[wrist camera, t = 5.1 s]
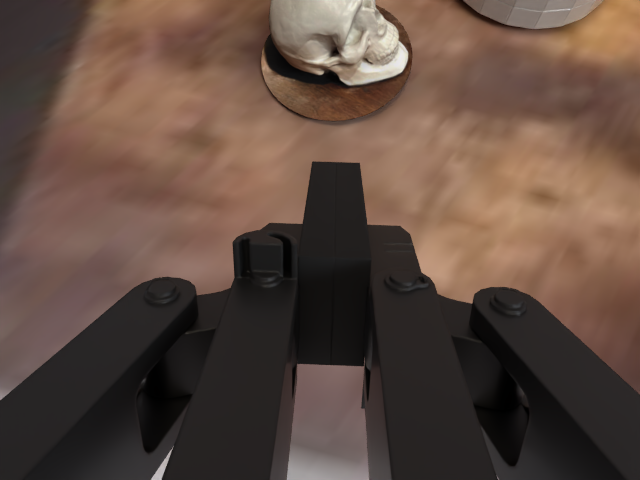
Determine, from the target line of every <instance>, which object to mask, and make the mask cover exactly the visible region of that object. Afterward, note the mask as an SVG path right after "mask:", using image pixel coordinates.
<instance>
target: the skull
mask: <svg viewBox="0 0 640 480" xmlns="http://www.w3.org/2000/svg"><path fill="white" fill-rule="evenodd" d="M269 27H270V35H269V36H268V38H267V40H266V42H265V45H264V47H263V51H262V59H261V65H262V72H263V76H264V79H265V82H266V84H267V86H268V88H269V89H270V91H271V92H272V94H273V95H274V96H275V97H276V98H277V99H278V100H279V101H280V102H281V103H282V104H283V105H285V106H286V107H287V108H289V109H291V110H293V111H294V112H297V113H299V114H301V115H303V116H306V117H309V118H314V119H318V120H328V121H330V120H331V121H333V120H334V121H338V120H347V119H348V120H349V119H354V118H357V117H361V116H365V115H367V114H369V113H371V112H373V111H375V110H377V109H379V108H380V107H383V106H384V105H385V104H386V103H388V102H389V101H390V100H391V99H393V97H395V95H396V94H397V93H398V92H399V91H400V89H401V88H402V87H403V85H404V84H405V82H406V80H407V78H408V75H409V73H410V69H411V65H412V48H411V43H410V40H409V37H408V35H407V32H406V31H405V29H404V28H403V26H402V25H401V23H400V22H399V21H398V20H397V19H396V18H395V17H394V16H393V15H391V14H390V13H389V12H387V11H386V10H385V9H383V8H381V7H379V6H377V5H375V0H271V6H270V13H269Z"/></svg>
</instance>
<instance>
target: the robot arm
mask: <svg viewBox="0 0 640 480" xmlns="http://www.w3.org/2000/svg"><path fill="white" fill-rule="evenodd" d="M233 258H234V275H235V278H234V281H233V283H232V286H231V288H229V289H227V290H224V291H221V292H216V293H211V294H204V295H197V294H196V289H195V286H194V285H193V284H192V283H191V282H189V281H187V280H184V279H181V278H171V277H162V278H161V277H160V278H155V279H152V280H150V281H147V282H144V283H141V284H140V285H138V286H136V287H135V288H133V289H132V290H131V291H130V292H128V293H127V294H126V295H125V296H124V297H122V298H121V299H120V300H119V301H118V302H116V303H115V304H114V305H113V306H112V307H111V308H109V309H108V310H107V311H106V312H105V313H103V314H102V315H101V316H100V317H99V318H98V319H96V320H95V321H94V322H93V323H92V324H90V325H89V326H88V327H87V328H86V329H85V330H83V331H82V332H81V333H80V334H79V335H77V336H76V337H75V338H74V339H73V340H71V341H70V342H69V343H68V344H67V345H66V346H64V347H63V348H62V349H61V350H60V351H58V352H57V353H56V354H55V355H54V356H53V357H51V358H50V359H49V360H48V361H47V362H45V363H44V364H43V365H42V366H41V367H40V368H38V369H37V370H36V371H35V372H34V373H32V374H31V375H30V376H29V377H28V378H26V379H25V380H24V381H23V382H22V383H21V384H19V385H18V386H17V387H16V388H15V389H13V390H12V391H11V392H10V393H9V394H8V395H6V396H5V397H4V398H3V399H2V400H0V480H151V478H152V477H153V475H154V474H155V472H156V471H157V469H158V468H159V467H160V465H161V464H162V462H163V461H164V459H165V458H166V456H167V455H168V453H169V452H170V450H171V449H172V447H173V446H174V447H173V450H172V452H171V455H170V458H169V461H168V463H167V466H166V469H165V472H164V475H163V477H162V480H287V471H288V461H289V451H290V442H291V432H292V422H293V413H294V403H295V393H296V384H297V364H319V365H345V366H364V356H365V367H364V380H363V394H362V407H361V408H365V415H366V432H367V448H368V465H369V480H498V479H497V476H498V478H499V480H640V395H639V394H638V393H637V392H636V391H635V390H634V389H633V388H632V387H631V386H630V385H629V384H627V383H626V382H625V381H624V380H623V379H622V378H621V377H620V376H619V375H618V374H617V373H616V372H614V371H613V370H612V369H611V368H610V367H609V366H608V365H607V364H606V363H605V362H604V361H602V360H601V359H600V358H599V357H598V356H597V355H596V354H595V353H594V352H593V351H592V350H591V349H589V348H588V347H587V346H586V345H585V344H584V343H583V342H582V341H581V340H580V339H579V338H577V337H576V336H575V335H574V334H573V333H572V332H571V331H570V330H569V329H568V328H567V327H566V326H564V325H563V324H562V323H561V322H560V321H559V320H558V319H557V318H556V317H555V316H554V315H553V314H551V313H550V312H549V311H548V310H547V309H546V308H545V307H544V306H543V305H542V304H541V303H539V302H538V301H537V300H536V299H534V298H533V297H531V296H530V295H528V294H525V293H523V292H520V291H518V290H516V289H512V288H510V289H509V288H507V287H490V288H486V289H481V290H480V291H478V292H477V293H475V295H474V299H473V303H472V304H470V303H466V302H461V301H456V300H453V299H449V298H446V297H443V296H441V295H439V294H437V291H436V288H435V285H434V283H433V282H432V280H431V279H430V278H429V277H427V276H426V275H424V274H423V273H421V269H420V266H419V263H418V259H417V256H416V253H415V249H414V246H413V243H412V239H411V236H410V234H409V233H408V232H407V231H405V230H404V229H403V228H402V227H401V226H387V225H367V218H366V210H365V202H364V194H363V186H362V178H361V170H360V163H342V162H312V168H311V174H310V180H309V187H308V193H307V200H306V206H305V213H304V219H303V224H285V223H269V224H268V225H266V226H265V227H264V228H262V229H261V230H256V231H252V232H247V233H244V234H242V235H240V236H238V237H237V238H236V239H235V240H234V241H233ZM496 475H497V476H496Z"/></svg>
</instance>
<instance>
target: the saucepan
mask: <svg viewBox="0 0 640 480" xmlns="http://www.w3.org/2000/svg"><path fill="white" fill-rule="evenodd" d="M463 1H464V2H465V3H467V4H468V5H469V6H470V7H472V8H473V9H474V10H475V11H477V12H478V13H480V14H482V15H484V16H486V17H489V18H491V19H493V20H496V21H498V22H500V23H502V24H505V25H510V26H516V27H522V28H528V29H543V28H555V27H562V26H564V25H567V24H569V23H572V22H575V21H577V20H580V19H582V18H584V17H586V16H587V15H588V14H589V13H590V12H592V11H593V10H594V9H595V8H596V7H597V6H599V5H600V4H601V3H602V2H603V0H463Z"/></svg>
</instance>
